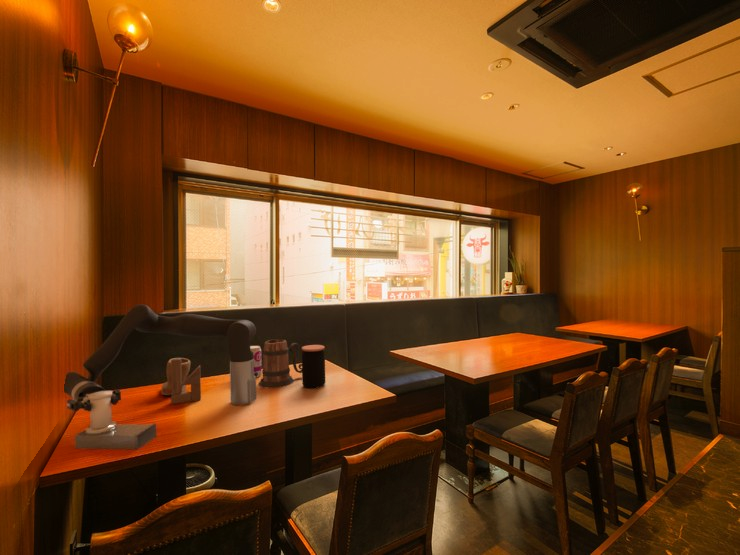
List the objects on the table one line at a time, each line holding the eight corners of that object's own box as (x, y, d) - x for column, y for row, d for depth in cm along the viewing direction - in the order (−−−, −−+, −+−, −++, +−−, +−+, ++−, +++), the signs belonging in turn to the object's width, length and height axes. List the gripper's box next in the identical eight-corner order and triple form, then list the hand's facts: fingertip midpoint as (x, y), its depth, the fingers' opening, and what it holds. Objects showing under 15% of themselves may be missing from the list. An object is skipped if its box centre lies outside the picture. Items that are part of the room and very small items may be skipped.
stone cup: (191, 394, 155) (190, 360, 155) (159, 399, 150) (158, 363, 150) (191, 384, 169) (190, 353, 168) (162, 389, 163) (161, 356, 163)
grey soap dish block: (156, 436, 114) (155, 420, 114) (137, 449, 106) (137, 432, 106) (97, 436, 115) (97, 420, 115) (74, 448, 107) (74, 431, 107)
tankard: (265, 390, 159) (264, 346, 158) (253, 381, 172) (252, 340, 172) (312, 380, 173) (311, 339, 173) (297, 372, 186) (296, 335, 186)
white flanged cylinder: (117, 421, 114) (116, 390, 114) (102, 429, 108) (101, 396, 108) (100, 422, 114) (99, 390, 114) (83, 429, 108) (83, 396, 108)
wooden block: (200, 400, 147) (199, 357, 147) (171, 404, 143) (170, 360, 142) (201, 397, 150) (200, 355, 150) (172, 401, 146) (171, 358, 146)
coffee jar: (330, 384, 166) (329, 346, 166) (315, 390, 157) (314, 350, 157) (312, 380, 172) (312, 343, 172) (297, 386, 163) (296, 348, 163)
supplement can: (265, 374, 184) (264, 346, 183) (253, 379, 176) (253, 349, 176) (253, 373, 187) (252, 345, 187) (241, 377, 179) (240, 348, 179)
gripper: (59, 388, 114) (73, 399, 104) (112, 377, 125) (129, 386, 115) (60, 411, 114) (73, 424, 104) (113, 398, 125) (130, 409, 115)
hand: (103, 404), depth 109 cm, fingers open, 6 cm apart
